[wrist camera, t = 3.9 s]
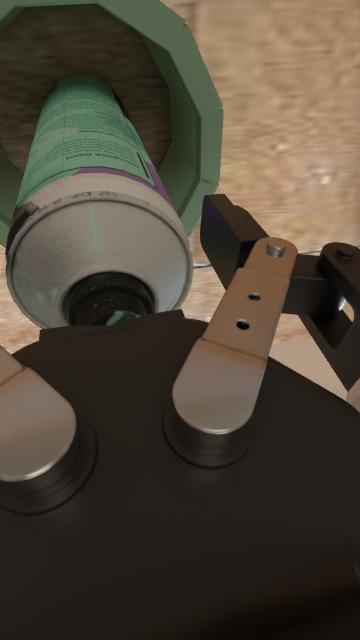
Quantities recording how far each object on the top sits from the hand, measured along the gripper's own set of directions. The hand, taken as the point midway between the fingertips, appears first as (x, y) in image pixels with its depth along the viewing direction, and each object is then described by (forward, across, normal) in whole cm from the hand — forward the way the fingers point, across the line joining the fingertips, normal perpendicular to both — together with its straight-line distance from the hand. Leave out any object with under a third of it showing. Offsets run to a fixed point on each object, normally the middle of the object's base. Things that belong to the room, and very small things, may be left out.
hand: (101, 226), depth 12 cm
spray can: (+14, 0, 0) cm, 14 cm away
